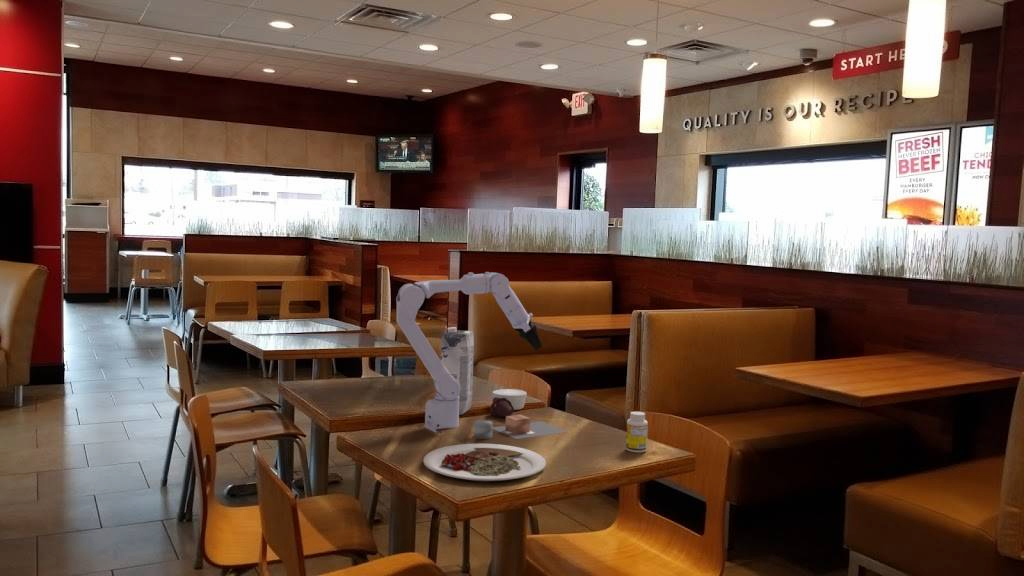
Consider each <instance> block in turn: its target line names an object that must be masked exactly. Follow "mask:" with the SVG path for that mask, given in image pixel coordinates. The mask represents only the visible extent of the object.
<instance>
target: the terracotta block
mask: <svg viewBox="0 0 1024 576" xmlns="http://www.w3.org/2000/svg"><path fill="white" fill-rule="evenodd" d="M530 423H531V418H530V417H527V416H525V415H522V414H514V415H510V416H505V426H506V430H507V431H509V432H511V433H514V434H519V433H527V432H530Z"/></svg>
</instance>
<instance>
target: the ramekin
mask: <svg viewBox="0 0 1024 576" xmlns="http://www.w3.org/2000/svg"><path fill="white" fill-rule="evenodd" d="M527 395H528V393H527V391H525V390H522V389H515V388H506V389H505V388H504V389H502V388H501V389H496V390H493V391H492V396H493V399H494V398H495V397H498V398H506V399H507V400H509V401H510V402H511V403H512V406H513V408H514V410H513V411H519V410H522V409H523V408H524V407H525V402H526V397H527Z"/></svg>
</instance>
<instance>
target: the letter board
mask: <svg viewBox="0 0 1024 576" xmlns="http://www.w3.org/2000/svg"><path fill="white" fill-rule="evenodd" d="M492 430H494V431H497V432H499V433H502V434H503V435H507V436H508V437H510V438H513V439H516V440H519V439H528V438H532V437H534V438H535V437H541V436H547V435H549V436H550V435H556V434H562V433H569V431H568V430H565V429H563V428H560V427H556V426H555V425H552V424H549V423H546V422H544V421H532V422H531V421H530V432H527V433H519V434H514V433H511V432H509V431H507V430H506V425H499V426H493V429H492Z"/></svg>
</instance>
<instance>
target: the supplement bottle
mask: <svg viewBox="0 0 1024 576" xmlns="http://www.w3.org/2000/svg"><path fill="white" fill-rule="evenodd" d="M648 424H649V423H648V421H647V419H646V413H645V412H642V411H630V414H629V419H627V420H626V439H625V441H626V442H625V449H626V450H627V451H629V452H630V453H637V454H639V453H644V452H646V451H647V450H648V449H647V448H648V428H649V427H648V426H649V425H648Z"/></svg>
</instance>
